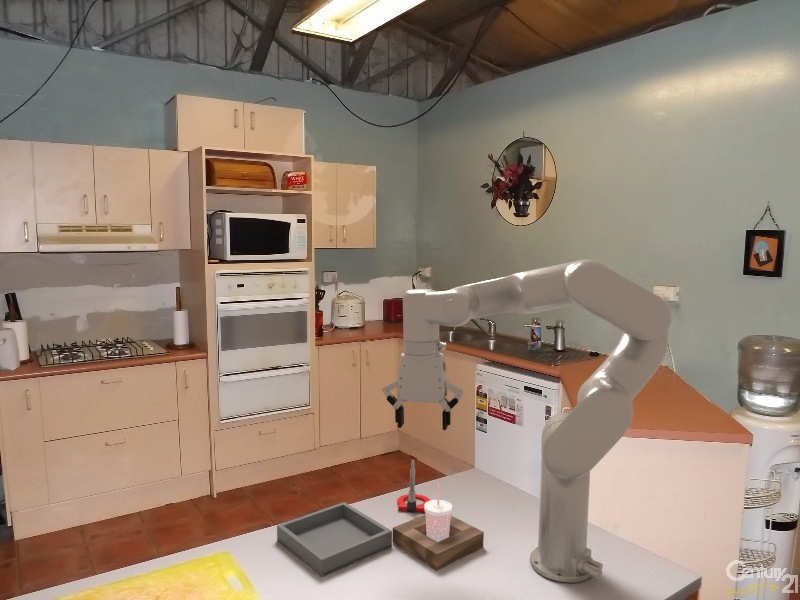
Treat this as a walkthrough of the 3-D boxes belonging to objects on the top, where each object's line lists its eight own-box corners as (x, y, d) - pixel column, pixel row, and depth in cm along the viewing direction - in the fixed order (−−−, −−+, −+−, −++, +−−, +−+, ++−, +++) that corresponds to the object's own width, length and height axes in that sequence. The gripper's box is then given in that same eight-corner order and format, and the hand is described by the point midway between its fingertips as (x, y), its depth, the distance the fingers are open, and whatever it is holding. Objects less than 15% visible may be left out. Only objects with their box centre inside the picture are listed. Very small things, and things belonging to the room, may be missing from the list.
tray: (391, 546, 126) (392, 530, 126) (321, 576, 114) (321, 559, 114) (344, 515, 140) (344, 501, 139) (277, 540, 128) (276, 525, 128)
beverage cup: (438, 535, 131) (438, 475, 129) (457, 546, 126) (458, 484, 125) (417, 544, 127) (418, 482, 125) (437, 555, 122) (438, 492, 121)
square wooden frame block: (483, 547, 126) (483, 532, 125) (436, 570, 117) (437, 554, 116) (438, 523, 136) (438, 508, 136) (392, 542, 127) (392, 527, 127)
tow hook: (399, 497, 151) (394, 511, 142) (401, 448, 150) (395, 460, 141) (431, 499, 150) (428, 514, 141) (433, 450, 149) (429, 462, 140)
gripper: (464, 345, 124) (465, 423, 125) (386, 344, 128) (387, 420, 129) (460, 352, 116) (461, 435, 118) (377, 350, 120) (379, 430, 122)
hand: (422, 427), depth 124 cm, fingers open, 9 cm apart
